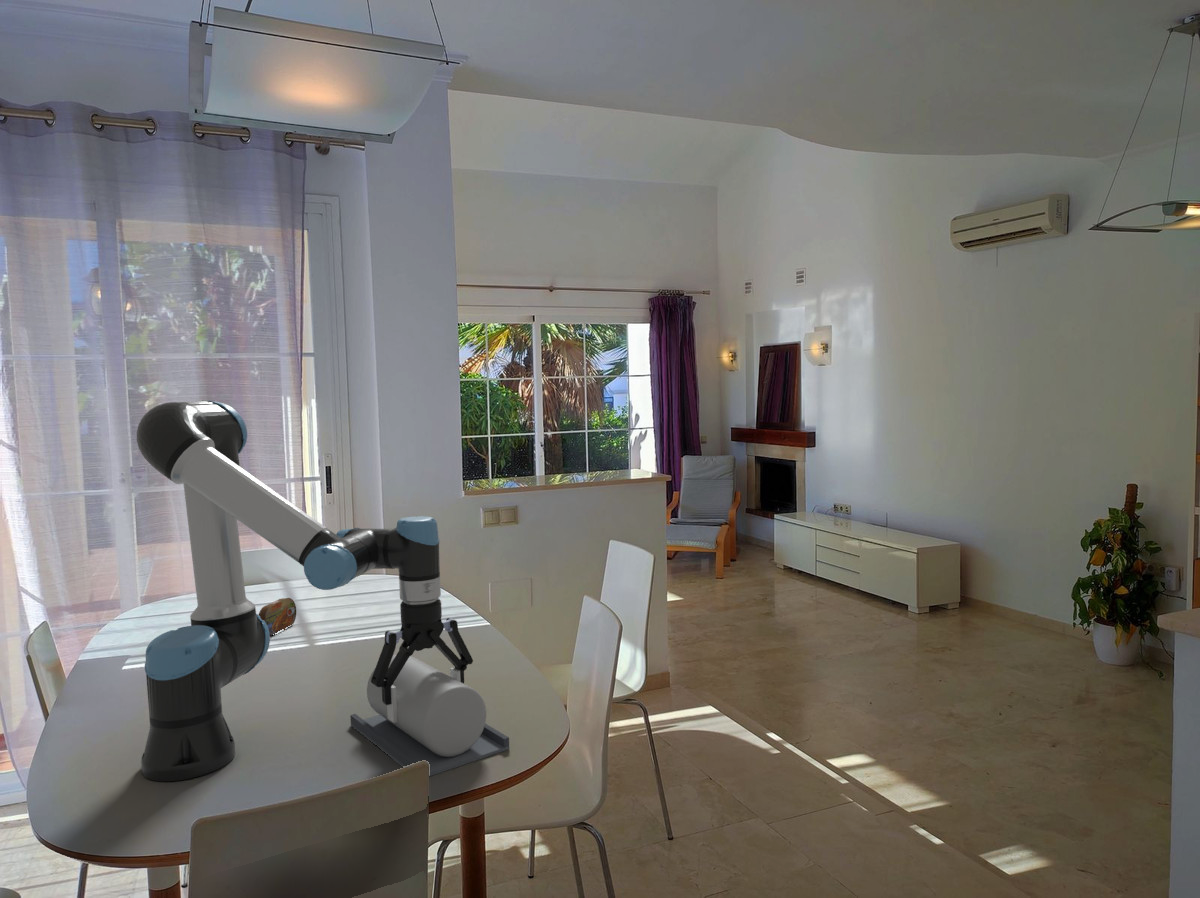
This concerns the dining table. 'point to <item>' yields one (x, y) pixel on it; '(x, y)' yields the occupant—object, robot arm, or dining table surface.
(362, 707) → the dining table surface
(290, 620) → the tin
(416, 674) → the cylinder vase
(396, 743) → the mat
